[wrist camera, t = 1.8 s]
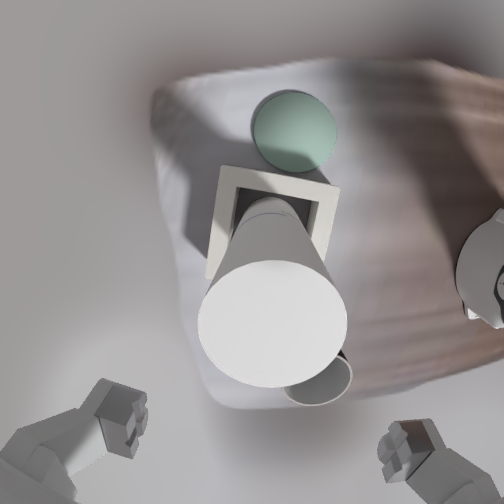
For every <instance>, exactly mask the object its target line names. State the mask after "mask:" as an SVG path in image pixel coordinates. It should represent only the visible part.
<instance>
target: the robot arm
mask: <svg viewBox="0 0 504 504" xmlns="http://www.w3.org/2000/svg"><path fill="white" fill-rule="evenodd" d="M456 285H457V290H458V293H459V295H460V297H461V298H462V300H463V302H464V308H465V315H466V317H468V318H469V319H476V318H482V319H483V320H484V321H486V322H487V323H488V324H490V325H491V326H492V327H494V328H496V329H498V328H503V327H504V209H502V208H500V209H498V210H497V211H496V213H495V214H494V215H493V217H492V218H491V219H490V220H489V221H487V222H485V223H483V224H482V225H480V226H479V227H478V228H476V229H475V230H474V231H473V232H472V234H471V235H470V236H469V238H468V239H467V241H466V242H465V244H464V246H463V248H462V251H461V253H460V256H459V259H458V263H457V269H456ZM146 401H147V396H146V393H145V392H143V391H140V390H137V389H134V388H131V387H128V386H125V385H122V384H119V383H115V382H113V381H110V380H107V379H104V378H102V379H100V380H99V381H98V382H97V384H96V385H95V387H94V388H93V389H92V391H91V392H90V394H89V395H88V397H87V398H86V400H85V401H84V402H83V404H82V405H81V407H80V408H79V409H76V408H74V409H71V410H69V411H66V412H64V413H61V414H58V415H56V416H53V417H50V418H47V419H45V420H42V421H39V422H37V423H34V424H31V425H28V426H25V427H22V428H20V429H17V431H16V432H15V433H14V434H13V436H12V437H11V439H10V440H9V441H8V442H7V444H6V445H5V446H4V448H3V449H2V450H1V452H0V504H79V503H77V502H75V501H74V499H75V497H76V495H77V493H78V492H77V489H76V487H75V486H74V484H73V483H72V481H71V480H70V478H69V476H71V475H72V474H74V473H76V472H78V471H79V470H81V469H83V468H84V467H86V466H88V465H89V464H91V463H92V462H94V461H96V460H97V459H99V458H100V457H102V456H103V455H105V454H107V453H108V452H111V453H114V454H118V455H120V456H124V457H127V458H130V459H133V457H134V455H135V453H136V450H137V448H138V446H139V442H138V437H139V436H141V435H143V434H144V431H145V428H146V425H147V420H148V409H147V408H146V407H145V403H146ZM388 429H389V433H387V434H386V435H384V436H383V437H382V439H381V440H380V442H379V444H378V449H377V451H378V457H379V460H380V461H381V462H382V463H383V464H384V466H383V468H382V471H383V475H384V478H385V481H386V483H393V482H401V481H406V483H407V484H408V485H409V486H410V487H411V488H412V489H413V490H414V491H415V492H416V493H417V494H418V495H419V496H420V497H421V498H422V499H423V500H424V501H425V502H426V503H427V504H504V497H502V498H501V496H500V494H499V492H498V490H497V488H496V486H495V484H494V482H493V480H492V478H491V476H490V475H489V474H488V473H486V472H484V471H483V470H481V469H480V468H478V467H477V466H475V465H474V464H472V463H471V462H469V461H468V460H466V459H465V458H464V457H462V456H461V455H459V454H458V453H456V452H454V451H453V450H452V449H450V448H448V449H447V448H446V446H445V444H444V442H443V440H442V438H441V436H440V434H439V432H438V430H437V428H436V426H435V425H434V422H433V421H432V420H431V419H418V420H405V421H394V422H393V423H392V424H391V425H390V426H389V428H388Z"/></svg>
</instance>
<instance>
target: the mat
mask: <svg viewBox="0 0 504 504" xmlns="http://www.w3.org/2000/svg"><path fill="white" fill-rule="evenodd" d="M254 137H255V141H256V145H257V147H258V149H259V151H260V152H261V154H262V155H263V157H264V158H265V159H266V160H267V161H268V162H269V163H271V164H272V165H274V166H275V167H277V168H279V169H282V170H285V171H289V172H305V171H309V170H312V169H315V168H317V167H318V166H320V165H321V164H323V163H324V162H325V161H326V160H327V159H328V158H329V156H330V155H331V153H332V151H333V149H334V147H335V144H336V139H337V129H336V124H335V121H334V118H333V116H332V114H331V113H330V111H329V110H328V108H327V107H326V106H325V105H324V104H323V103H322V102H320V101H319V100H318V99H316V98H314V97H312V96H310V95H307V94H303V93H293V92H292V93H285V94H281V95H278V96H276V97H274V98H272V99H271V100H269V101H268V102H267V103H266V104H265V105H264V106H263V107H262V108H261V110H260V111H259V113H258V115H257V118H256V121H255V125H254Z"/></svg>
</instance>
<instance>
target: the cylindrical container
mask: <svg viewBox="0 0 504 504" xmlns="http://www.w3.org/2000/svg"><path fill="white" fill-rule="evenodd" d="M346 331H347V313H346V310H345V306H344V303H343V300H342V298H341V296H340V294H339V292H338V290H337V288H336V286H335V284H334V282H333V280H332V278H331V276H330V275H329V273H328V271H327V269H326V267H325V265H324V263H323V261H322V259H321V257H320V256H319V254H318V252H317V250H316V248H315V246H314V244H313V242H312V241H311V239H310V237H309V235H308V233H307V232H306V230H305V228H304V226H303V224H302V223H301V221H300V219H299V217H298V215H297V214H296V212H295V210H294V209H293V207H292V206H291V205H290V204H289V203H287V202H286V201H284V200H282V199H280V198H276V197H264V198H261V199H258V200H256V201H255V202H253V203H252V204H251V205H250V206H249V207H248V208H247V209H246V211H245V213H244V215H243V217H242V219H241V221H240V223H239V225H238V227H237V229H236V231H235V233H234V236H233V238H232V240H231V242H230V244H229V246H228V248H227V250H226V252H225V254H224V257H223V259H222V261H221V263H220V265H219V267H218V269H217V271H216V274H215V276H214V278H213V280H212V282H211V284H210V287H209V289H208V291H207V293H206V295H205V297H204V299H203V302H202V305H201V308H200V311H199V316H198V334H199V338H200V341H201V344H202V347H203V349H204V350H205V352H206V354H207V356H208V357H209V359H210V360H211V361H212V362H213V363H214V364H215V365H216V366H217V368H219V369H220V370H221V371H223V372H224V373H225V374H227V375H228V376H230V377H232V378H234V379H236V380H238V381H240V382H243V383H246V384H249V385H252V386H259V387H272V388H277V387H285V386H291V385H294V384H297V383H301V382H303V381H305V380H308V379H310V378H312V377H314V376H315V375H317V374H318V373H320V372H321V371H322V370H324V369H325V368H326V367H327V366H328V365H329V364H330V363H331V362H332V361H333V360H334V359H335V357H336V356H337V354H338V352H339V351H340V349H341V347H342V345H343V342H344V340H345V337H346Z"/></svg>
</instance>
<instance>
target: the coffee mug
mask: <svg viewBox="0 0 504 504" xmlns="http://www.w3.org/2000/svg"><path fill="white" fill-rule="evenodd" d="M352 376H353V372H352V368H351V366H350V364H349V363H348V361H347V359H346V357H345V356H344V354H343V352H342V351H341V349H340V351H339V352H338V354H337V356H336V357H335V359H334V360H333V361H332V362H331V363H330V364H329V365H328V366H327V367H326V368H325V369H324V370H322V371H321V372H320V373H318V374H317V375H315V376H314V377H312V378H310V379H308V380H305V381H303V382H301V383H297V384H294V385H291V386H285V387H281V389H282V391H283V394H284V395H285V396H286V397H287V398H288V399H289V400H291V401H292V402H294V403H296V404H300V405H304V406H318V405H323V404H327V403H329V402H332V401H334V400H336V399H337V398H339V397H340V396H341V395H342V394H344V393H345V391H346V390H347V389H348V388H349V386H350V384H351V381H352Z"/></svg>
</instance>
